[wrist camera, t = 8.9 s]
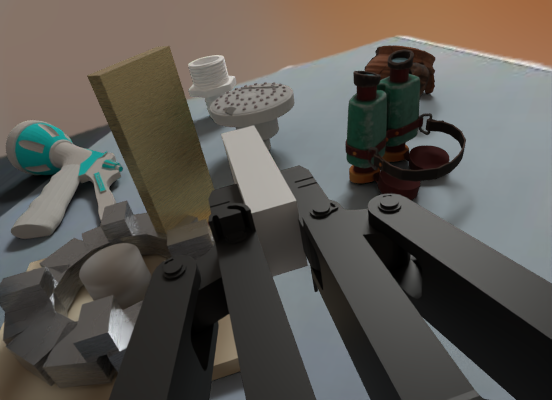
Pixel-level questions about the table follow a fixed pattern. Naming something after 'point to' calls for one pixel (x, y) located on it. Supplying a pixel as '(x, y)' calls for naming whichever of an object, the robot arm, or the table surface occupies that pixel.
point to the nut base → (43, 391)
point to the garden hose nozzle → (57, 174)
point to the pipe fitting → (210, 79)
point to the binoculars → (394, 131)
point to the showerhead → (254, 108)
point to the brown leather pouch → (419, 68)
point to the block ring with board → (116, 228)
